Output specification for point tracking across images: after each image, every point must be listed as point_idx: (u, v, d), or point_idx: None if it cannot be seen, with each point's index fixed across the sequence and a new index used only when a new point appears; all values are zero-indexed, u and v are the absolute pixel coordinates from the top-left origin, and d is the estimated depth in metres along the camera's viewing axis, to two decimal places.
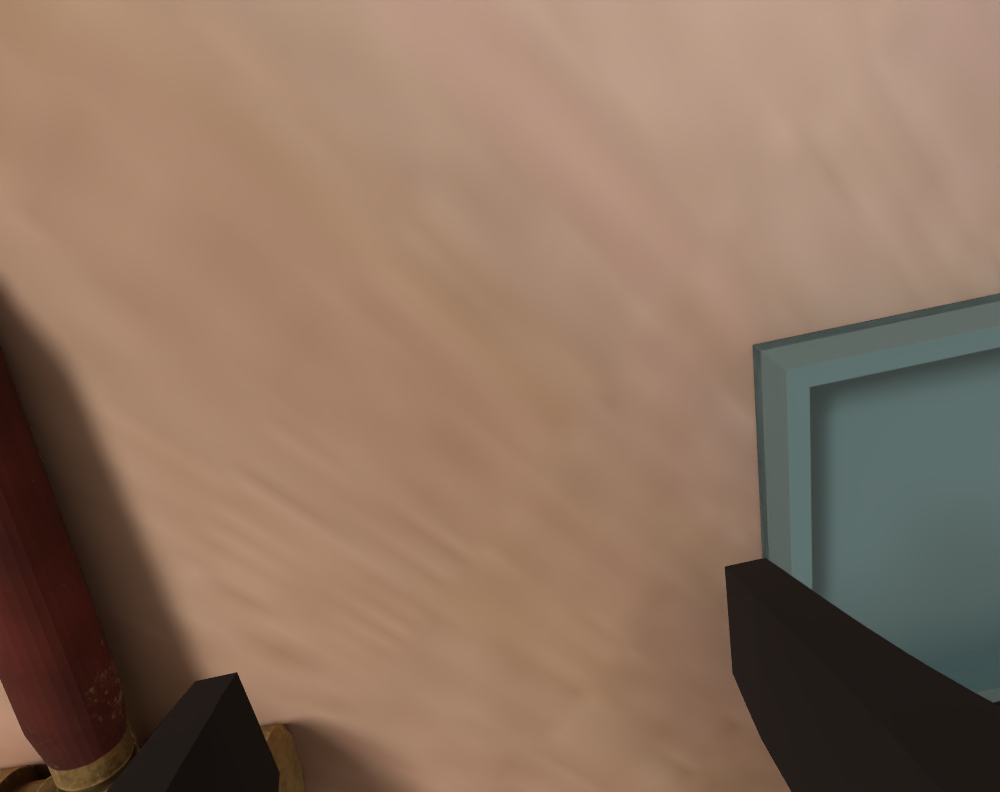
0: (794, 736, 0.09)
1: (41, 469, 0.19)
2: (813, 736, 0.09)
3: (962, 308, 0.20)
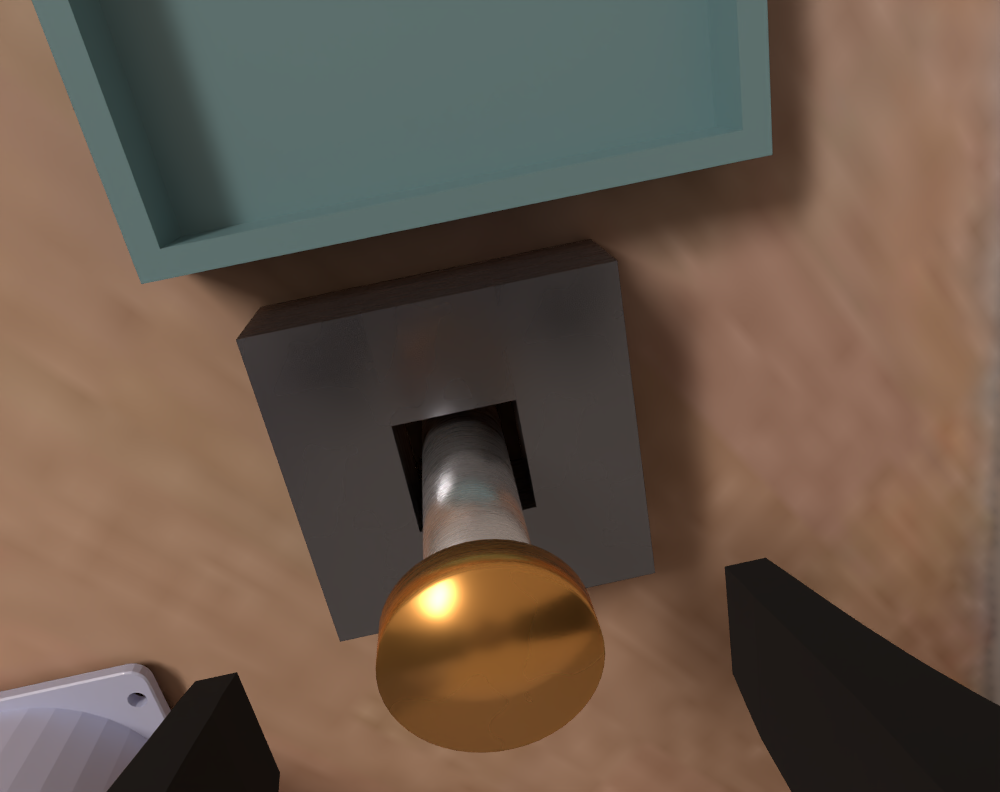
0: (794, 736, 0.09)
1: None
2: (813, 736, 0.09)
3: None
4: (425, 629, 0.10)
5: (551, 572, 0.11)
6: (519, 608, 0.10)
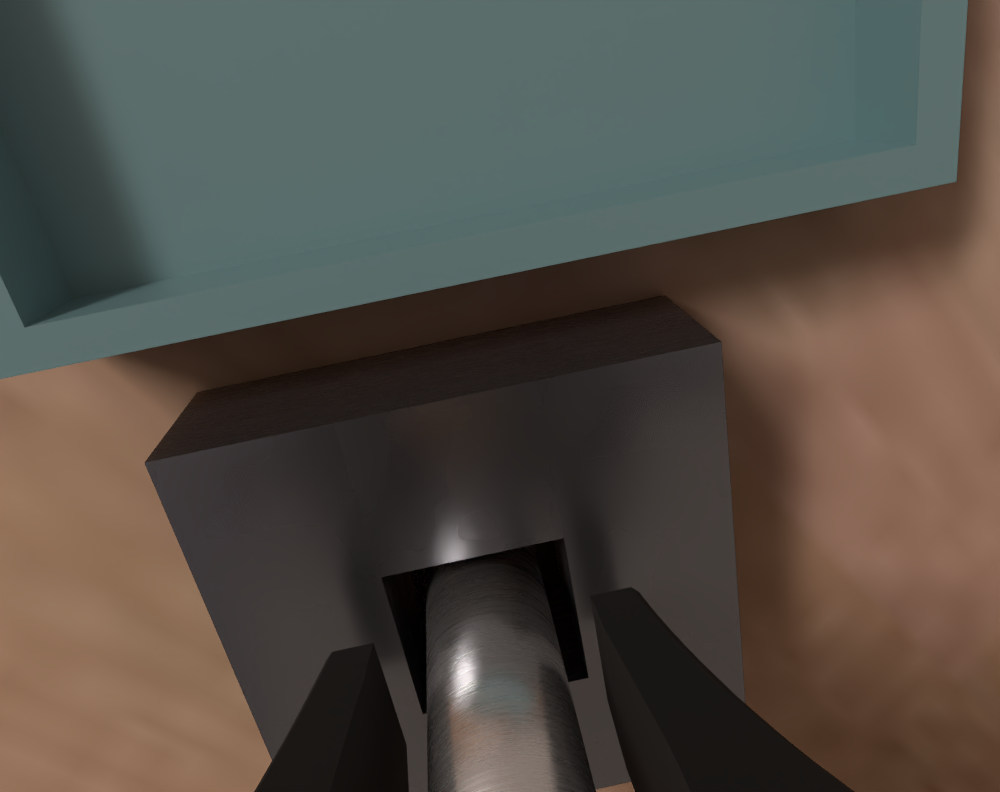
0: (641, 770, 0.09)
1: None
2: (650, 772, 0.09)
3: None
4: None
5: None
6: None
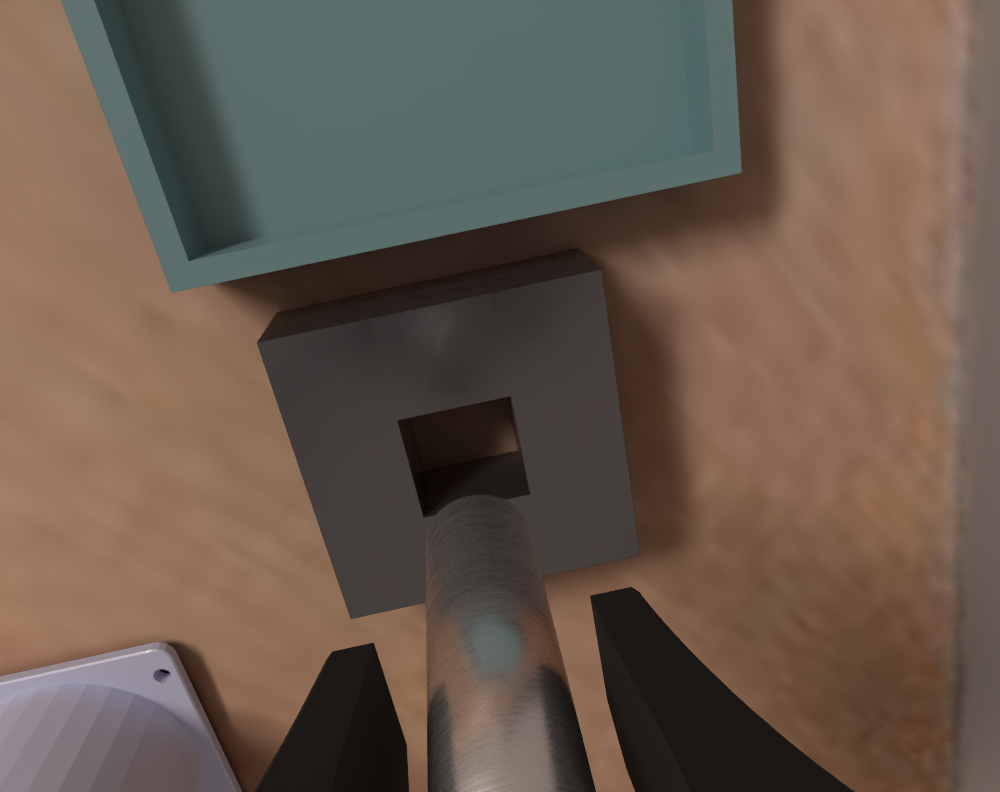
0: (641, 770, 0.09)
1: None
2: (650, 772, 0.09)
3: None
4: None
5: None
6: None
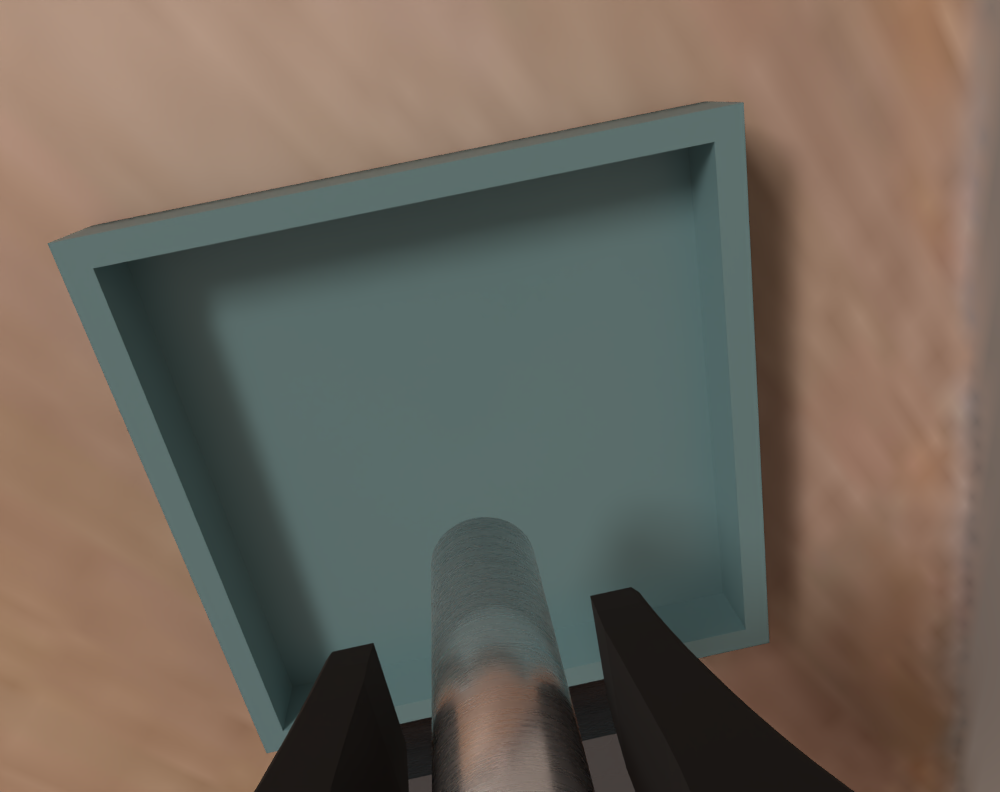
0: (641, 770, 0.09)
1: None
2: (650, 772, 0.09)
3: (355, 174, 0.15)
4: None
5: None
6: None
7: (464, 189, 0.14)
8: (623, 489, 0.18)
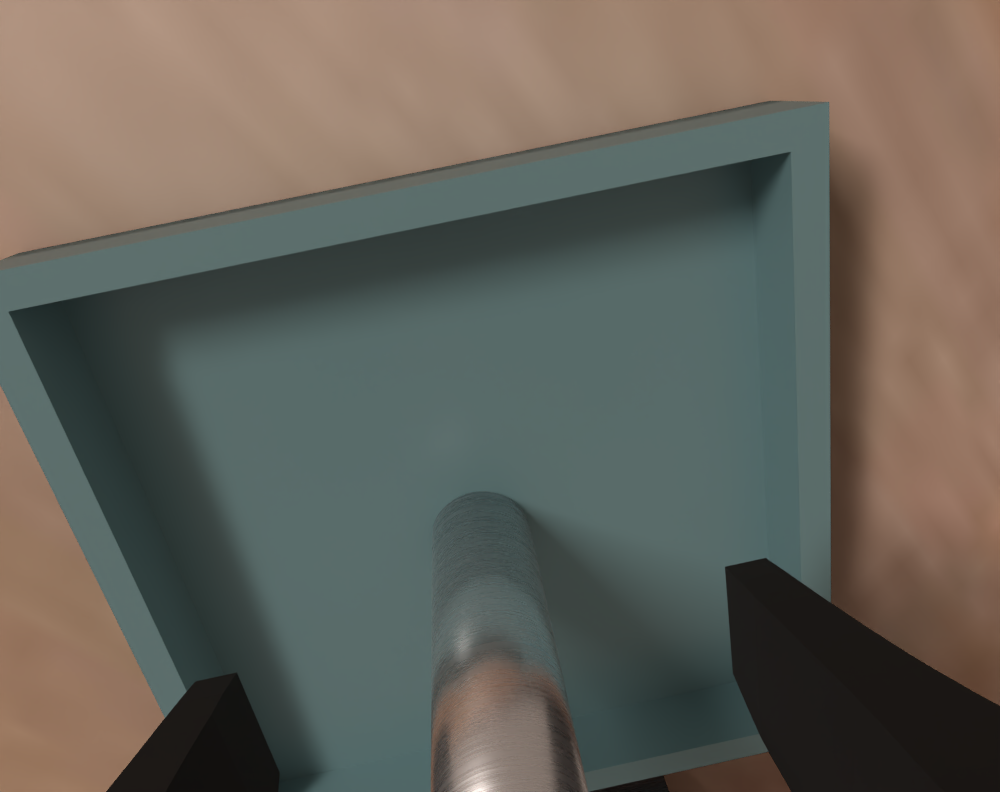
0: (794, 736, 0.09)
1: None
2: (813, 736, 0.09)
3: (340, 191, 0.12)
4: None
5: None
6: None
7: (476, 211, 0.11)
8: (661, 559, 0.16)
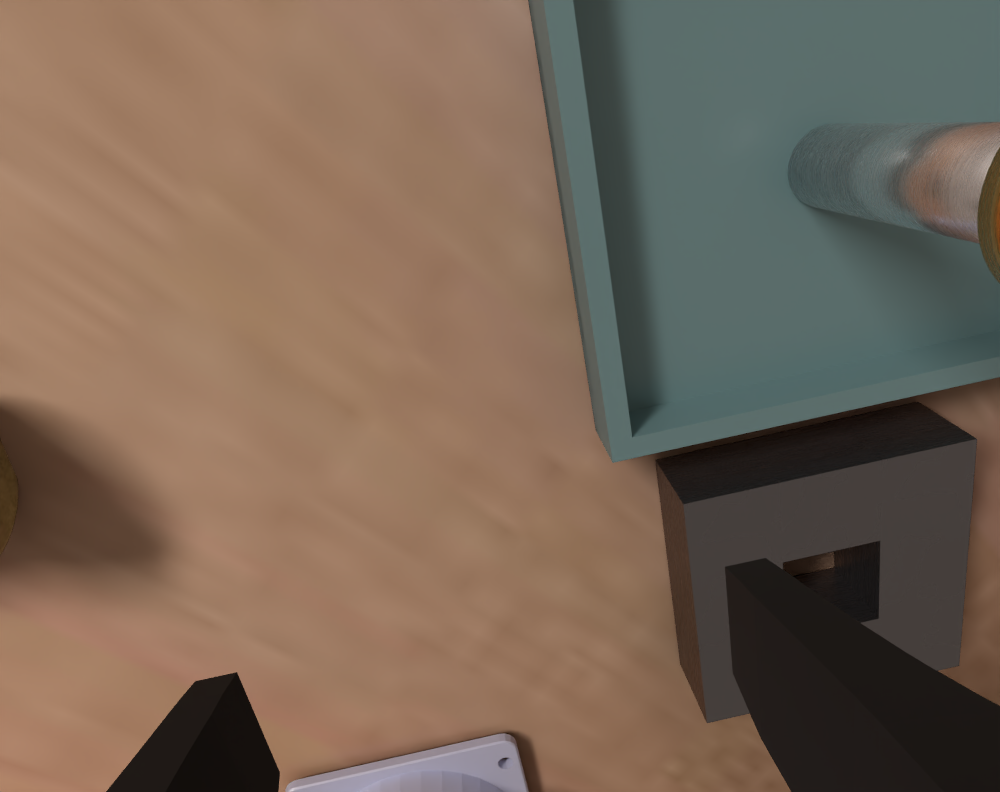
0: (794, 736, 0.09)
1: None
2: (813, 736, 0.09)
3: None
4: None
5: None
6: None
7: None
8: None
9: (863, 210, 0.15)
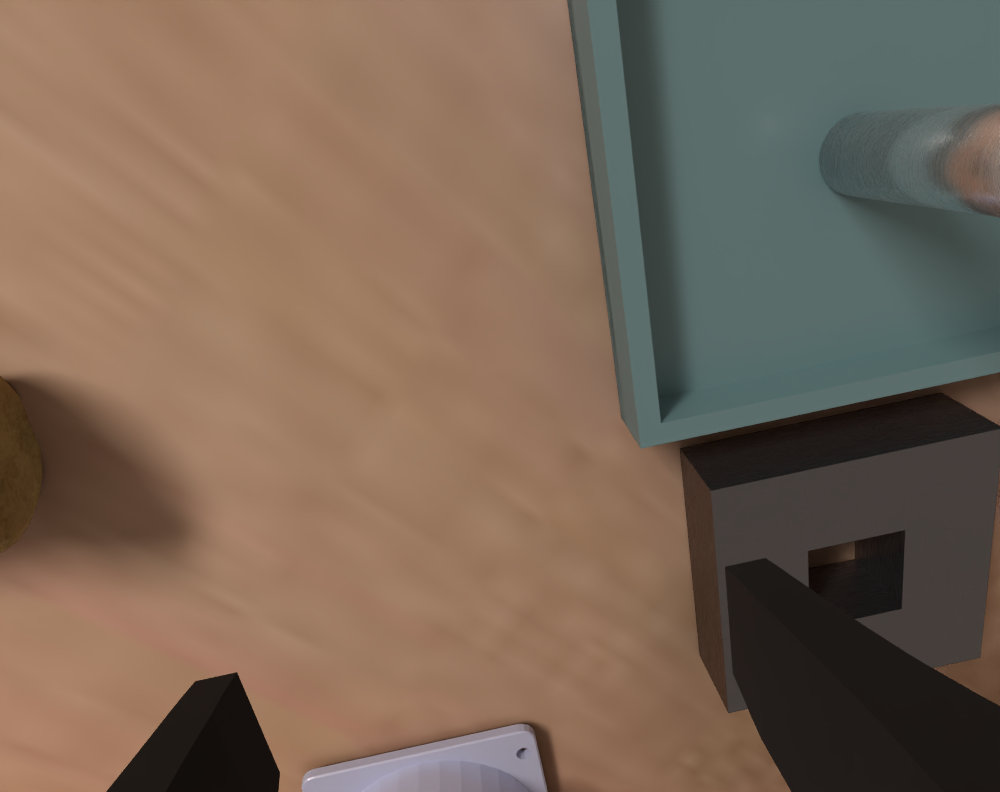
0: (794, 736, 0.09)
1: None
2: (813, 736, 0.09)
3: None
4: None
5: None
6: None
7: None
8: None
9: (902, 193, 0.15)
